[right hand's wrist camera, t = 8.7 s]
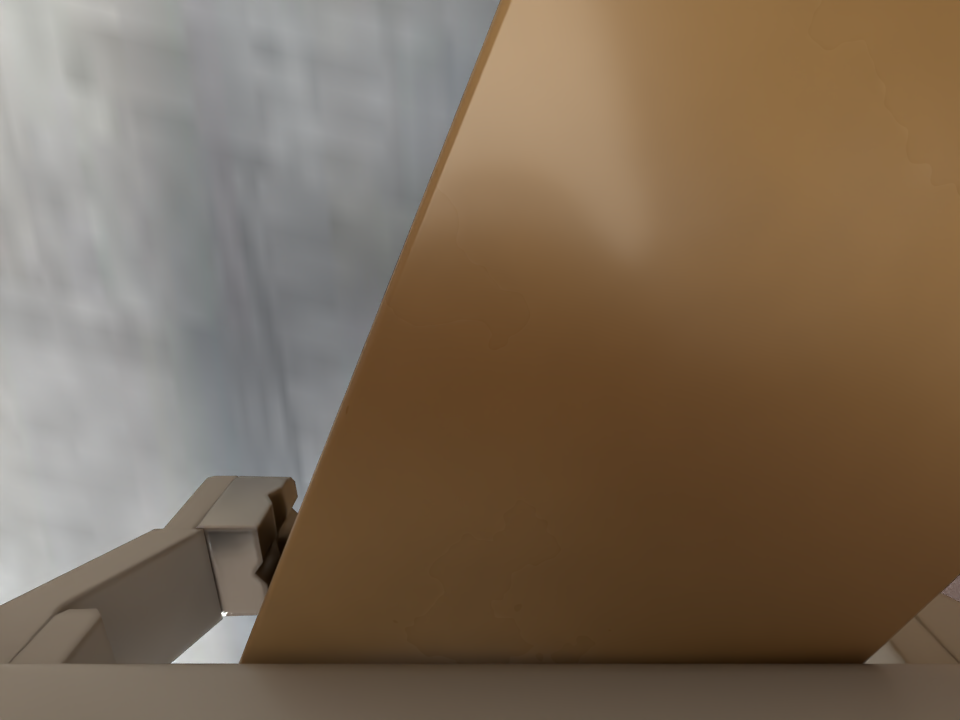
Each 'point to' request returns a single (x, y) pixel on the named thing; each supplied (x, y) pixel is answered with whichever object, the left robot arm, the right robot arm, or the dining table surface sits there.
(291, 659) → the bar
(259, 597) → the right robot arm
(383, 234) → the dining table surface
